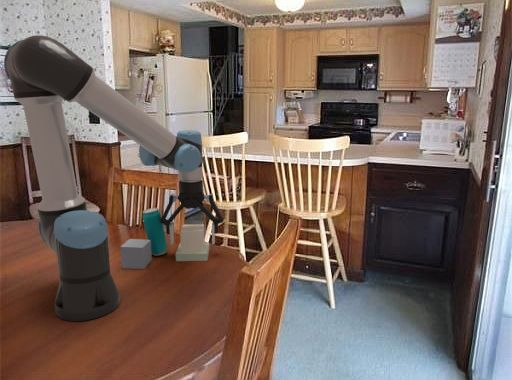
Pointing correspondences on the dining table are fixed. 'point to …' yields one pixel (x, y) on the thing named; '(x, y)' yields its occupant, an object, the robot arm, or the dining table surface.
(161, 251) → the beverage can
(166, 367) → the dining table surface
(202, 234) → the cream brick
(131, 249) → the gray cube
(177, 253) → the base plate
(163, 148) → the robot arm
